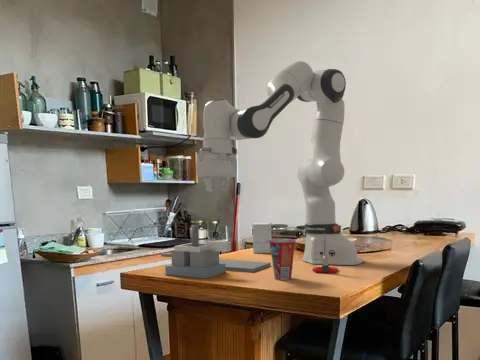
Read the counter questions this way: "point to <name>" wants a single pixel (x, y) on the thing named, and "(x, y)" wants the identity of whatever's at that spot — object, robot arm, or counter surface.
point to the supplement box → (261, 237)
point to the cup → (282, 257)
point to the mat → (244, 265)
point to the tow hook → (325, 261)
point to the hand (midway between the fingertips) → (217, 191)
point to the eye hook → (205, 247)
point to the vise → (194, 261)
